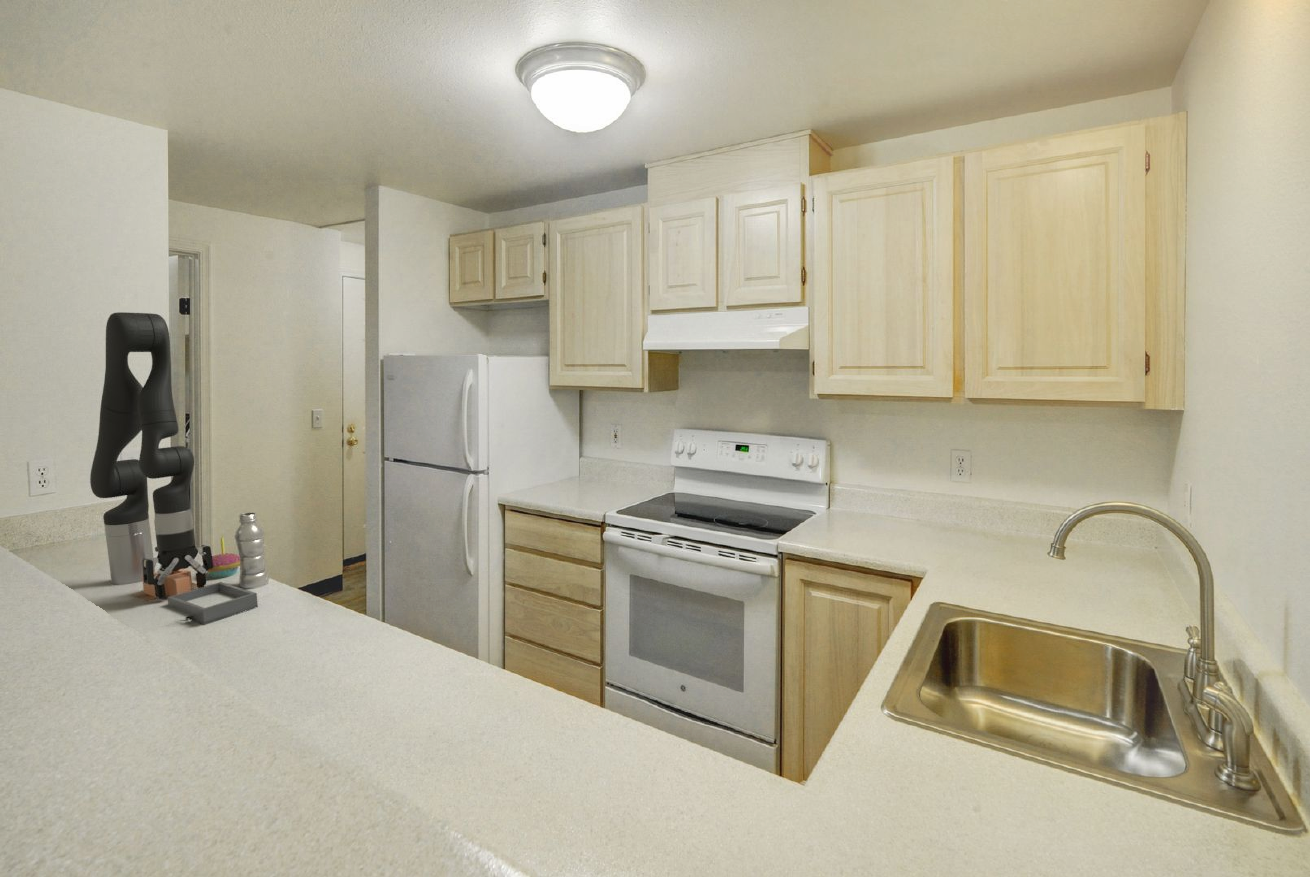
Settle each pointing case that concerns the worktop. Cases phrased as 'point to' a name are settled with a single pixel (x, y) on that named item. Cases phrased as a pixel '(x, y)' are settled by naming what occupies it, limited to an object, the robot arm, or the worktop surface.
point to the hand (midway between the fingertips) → (181, 593)
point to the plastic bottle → (251, 552)
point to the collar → (172, 583)
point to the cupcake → (224, 563)
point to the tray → (217, 611)
